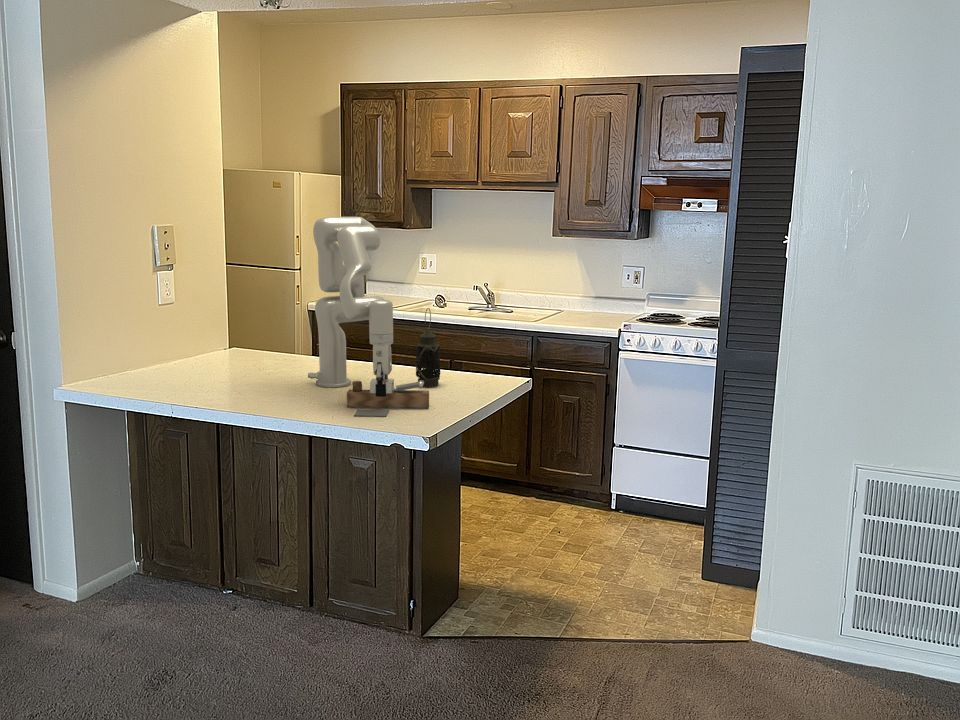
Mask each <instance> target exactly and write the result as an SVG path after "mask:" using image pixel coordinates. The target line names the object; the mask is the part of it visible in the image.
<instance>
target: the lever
mask: <svg viewBox="0 0 960 720" xmlns="http://www.w3.org/2000/svg"><path fill="white" fill-rule="evenodd" d="M423 384H424V381H423V380H420V381H419V382H418V381H416V382H409V383H403V384H399V385H394V392H396V391H401V390H413V389H417V388H419V389H422V388H424V387H423Z"/></svg>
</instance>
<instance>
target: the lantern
mask: <svg viewBox="0 0 960 720" xmlns="http://www.w3.org/2000/svg"><path fill="white" fill-rule="evenodd" d="M428 311H429V326H428V327H427V323H426V322H427V321H426V320H427V319H426V318H427V317H426V316H427V312H428ZM431 321H432V314H431V309H430V307H427V308H426V310H425V312H424V326H425V331H424V332H423V333H422V334H420V335H419V343H418V344H416V347H417V348H416V353H415V355H416V356H415V360H414V362H415V363H414V365H415V376H416V378H417V382H419V381H420V380H423V381H424V384H423V387H422V388H424V389H425V388H426V389H431V388H436V387H438V386H439V384H440V383H439V380H440V378H441V357H440V356H441V354H440V349H441V344H439V343H437V334H434V333H433V332H432V331H431V327H430V326H431Z"/></svg>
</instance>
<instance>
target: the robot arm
mask: <svg viewBox="0 0 960 720" xmlns="http://www.w3.org/2000/svg"><path fill="white" fill-rule="evenodd" d="M312 230H313V231H312V233H313V241H314V244H315V246H316V251H317V262H318V263H317V266H318V270H317V271H318V272H317V273H318V283H319V284H318V286H319V289H320V290H321V291H322V292H323V293H329V294H331V293H339V295H333V296H332V295H331V296H323V297H322V298H320V299H318V300H316V303H315V305H314V312H315V318H316V323H317V329H318V330H317V331H318V353H319V354H318V355H319V356H318V357H319V358H318V360H319V361H318V362H319V371H317V372H307V378H309V379H313V380H314V379H316V380H315V385H316V386H318V387H322V388H341V387H342V388H343V387H347V386H350V385H351V384H352V379H350V378H347V375H348V374H347V371H348V370H347V339H346V338H347V337H346V334H345V331H344V330H343V329H342V327H341V326H340V325H339V324H343V323H352V322H354V323H355V322H360V321H361V322H363V321H368V323H369V324H368V327H369V329H368V332H369V334H368V335H369V344H370V345H372V368H373V375H375V379H376V396H377V397H385V396H386V384H385V379H389V375H390V374H391V372H392V371H393V363H392V362H393V361H392V347H391V345H393V344H394V306H393V302H392V301H391V300H389V299H385V298H384V297H381V296H365V277H364V276H366V275H367V274H369V272H371V270H372V263H371V260H370V257H369V253H368V252H372V251H373V252H374V251H377V250H378V249H379V248H380V246H381V235H380V233H379V230H378V229H377V228H376V227H375V226H374V224H372V223H371V222H369V221H368V220H366V218H365V219H364V218H363V217H360V216H324V217H321V218H319V219H317V220H316V221H315V223H314V225H313V229H312Z"/></svg>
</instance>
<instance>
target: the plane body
mask: <svg viewBox="0 0 960 720" xmlns="http://www.w3.org/2000/svg"><path fill="white" fill-rule="evenodd" d="M351 384H352V389H348V390H347V391H346V409H347V408H349V409H350V408H351V409H408V410H411V409H412V410H416V409H418V410H428V409H429V408H430V390H427V389H426V390H424V389H423V390H420V389H419V390H417V389H416V390H414V389H407V390H401V391H396V392H394V391H393V392H392V393H386V396H385V397H377V396H376V393H370V389H363V382H362V381H361V380H355V381H351Z"/></svg>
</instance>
